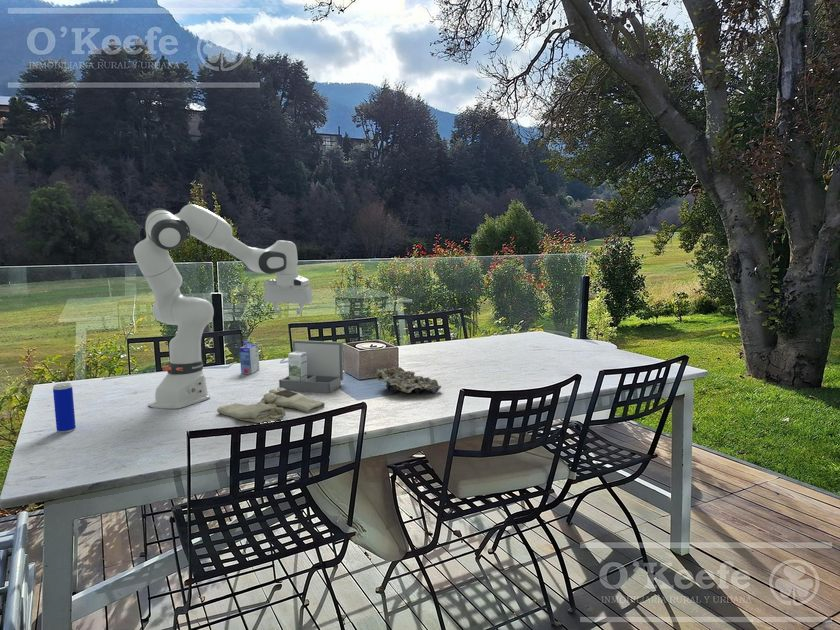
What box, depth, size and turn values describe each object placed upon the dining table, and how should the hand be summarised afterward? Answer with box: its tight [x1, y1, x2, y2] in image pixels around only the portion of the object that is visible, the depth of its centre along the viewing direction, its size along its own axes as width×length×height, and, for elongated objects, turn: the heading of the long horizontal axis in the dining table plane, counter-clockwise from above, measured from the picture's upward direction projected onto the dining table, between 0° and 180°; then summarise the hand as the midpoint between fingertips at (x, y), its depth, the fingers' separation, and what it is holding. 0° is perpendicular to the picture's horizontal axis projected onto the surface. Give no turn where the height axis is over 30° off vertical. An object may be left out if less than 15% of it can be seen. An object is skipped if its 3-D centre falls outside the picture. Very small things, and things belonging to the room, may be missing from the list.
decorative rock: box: [376, 365, 442, 394], centre depth 228 cm, size 22×26×10 cm
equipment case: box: [278, 339, 344, 394], centre depth 233 cm, size 14×22×18 cm, turn 76°
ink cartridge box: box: [239, 339, 260, 375], centre depth 261 cm, size 10×6×14 cm, turn 174°
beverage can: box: [52, 382, 77, 434], centre depth 180 cm, size 5×5×15 cm
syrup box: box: [287, 351, 307, 381], centre depth 233 cm, size 6×6×14 cm
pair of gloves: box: [216, 387, 325, 424], centre depth 201 cm, size 30×26×5 cm
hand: (288, 313), depth 234 cm, fingers open, 8 cm apart
